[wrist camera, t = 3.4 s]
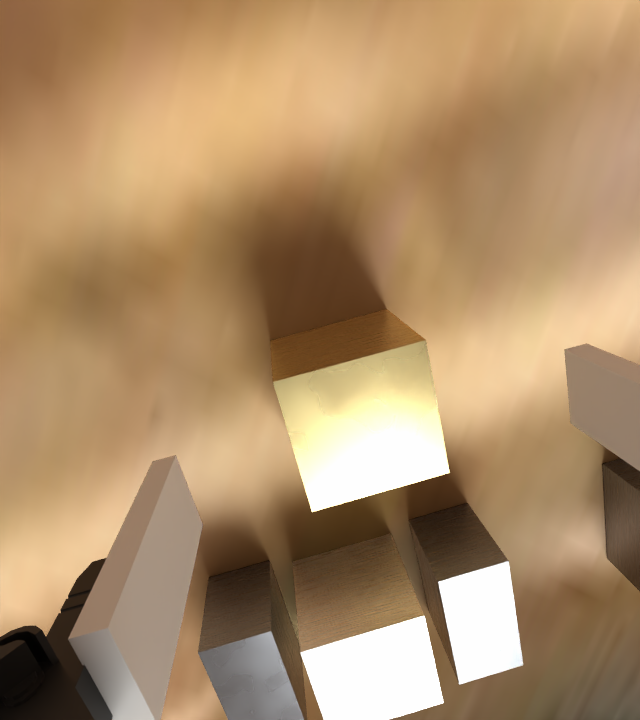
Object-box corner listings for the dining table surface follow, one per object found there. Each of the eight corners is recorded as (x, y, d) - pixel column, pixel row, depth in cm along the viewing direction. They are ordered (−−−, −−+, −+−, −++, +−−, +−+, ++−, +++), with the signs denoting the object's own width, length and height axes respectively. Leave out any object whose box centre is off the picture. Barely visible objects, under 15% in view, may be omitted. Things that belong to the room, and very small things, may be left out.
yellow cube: (270, 340, 19) (272, 382, 15) (386, 308, 20) (425, 340, 15) (300, 443, 21) (311, 511, 16) (407, 414, 21) (449, 472, 16)
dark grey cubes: (208, 578, 22) (197, 652, 19) (659, 447, 23) (736, 493, 19) (245, 666, 24) (242, 750, 21) (660, 543, 25) (730, 601, 21)
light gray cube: (292, 560, 23) (300, 652, 18) (390, 532, 23) (424, 615, 18) (316, 635, 24) (330, 737, 20) (408, 608, 25) (443, 702, 20)
